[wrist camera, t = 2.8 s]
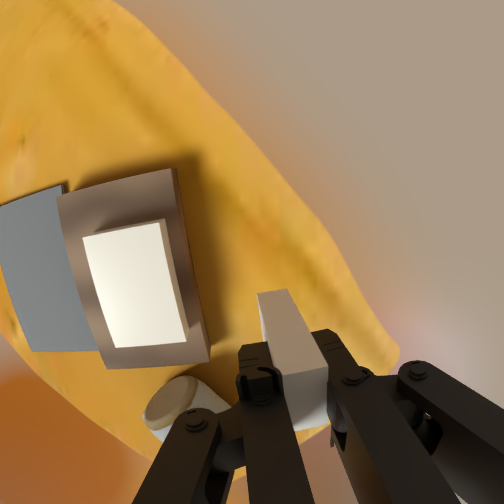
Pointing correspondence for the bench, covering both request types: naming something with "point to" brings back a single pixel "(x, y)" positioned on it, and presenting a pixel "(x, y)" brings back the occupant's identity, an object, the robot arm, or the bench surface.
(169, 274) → the white rectangular block
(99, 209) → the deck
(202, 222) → the bench surface
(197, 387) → the ceramic mug
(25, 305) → the mat
